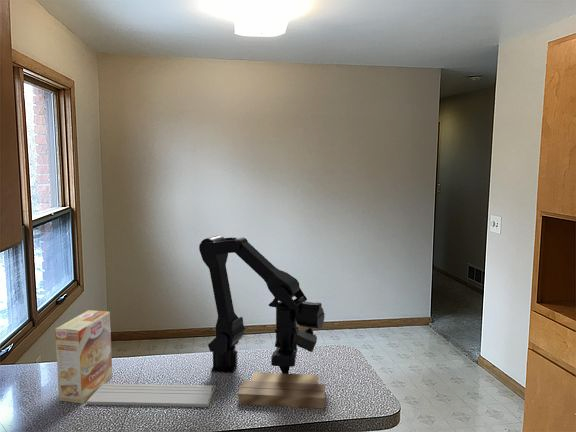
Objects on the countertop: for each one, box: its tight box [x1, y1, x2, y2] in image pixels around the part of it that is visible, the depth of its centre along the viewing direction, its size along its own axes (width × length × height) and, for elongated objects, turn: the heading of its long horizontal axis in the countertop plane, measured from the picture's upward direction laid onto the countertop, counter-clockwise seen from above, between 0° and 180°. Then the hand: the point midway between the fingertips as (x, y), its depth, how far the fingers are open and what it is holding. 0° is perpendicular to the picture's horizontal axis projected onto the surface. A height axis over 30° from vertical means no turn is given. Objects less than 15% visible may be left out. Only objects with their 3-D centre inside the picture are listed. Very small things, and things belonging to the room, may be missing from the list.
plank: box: [250, 371, 319, 384], centre depth 128 cm, size 18×6×3 cm, turn 85°
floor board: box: [237, 380, 326, 409], centre depth 122 cm, size 22×8×3 cm, turn 85°
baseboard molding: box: [86, 381, 218, 408], centre depth 124 cm, size 31×3×12 cm
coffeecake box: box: [54, 309, 113, 404], centre depth 125 cm, size 15×7×20 cm, turn 171°
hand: (285, 376), depth 132 cm, fingers closed
